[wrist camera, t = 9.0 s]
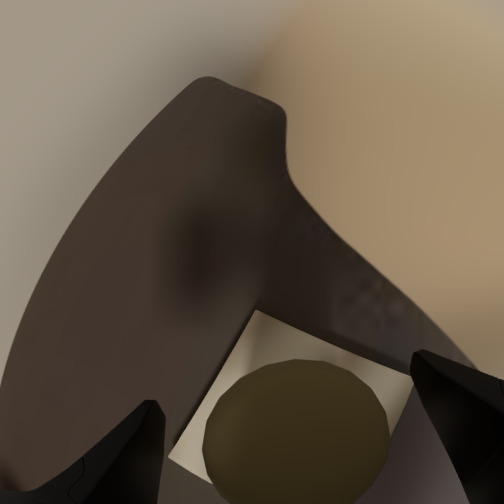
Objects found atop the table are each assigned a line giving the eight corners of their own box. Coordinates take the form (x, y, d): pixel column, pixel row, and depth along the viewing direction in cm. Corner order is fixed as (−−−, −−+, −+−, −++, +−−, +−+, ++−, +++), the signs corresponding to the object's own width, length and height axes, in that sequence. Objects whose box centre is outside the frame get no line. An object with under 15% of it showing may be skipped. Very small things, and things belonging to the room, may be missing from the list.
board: (409, 379, 15) (415, 378, 14) (327, 522, 10) (329, 528, 9) (257, 313, 18) (255, 309, 18) (173, 454, 14) (167, 457, 13)
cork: (321, 465, 12) (371, 556, 3) (226, 442, 14) (144, 508, 4) (349, 378, 15) (445, 355, 5) (256, 356, 16) (213, 305, 6)
